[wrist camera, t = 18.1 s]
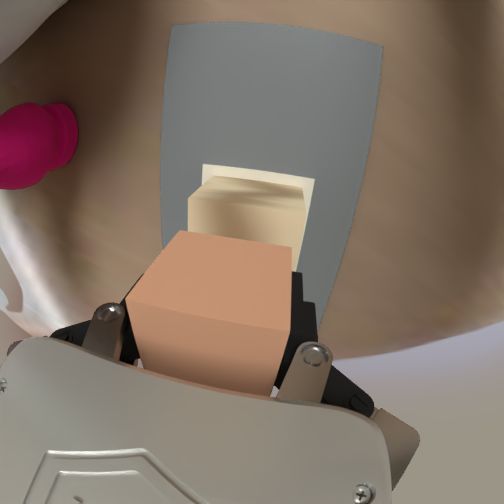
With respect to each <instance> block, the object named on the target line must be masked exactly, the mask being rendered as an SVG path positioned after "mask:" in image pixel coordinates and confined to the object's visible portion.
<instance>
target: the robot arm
mask: <svg viewBox="0 0 504 504" xmlns="http://www.w3.org/2000/svg"><path fill="white" fill-rule="evenodd" d="M143 275H144V274H142V275H141V277H142V276H143ZM141 277H140V278H141ZM140 278H139V279H138V280H137V282H138V281H139V280H140ZM137 282H136V283H135V284H134V286H135V285H136V284H137ZM134 286H133V287H132V288H131V289H130V291H129V292H128V293H127V295H126V296H125V297H124V299H123V300H122V301H121V303H120V304H118V303H113V302H112V303H105V304H103V305H101V306H99V307H98V308H97V309H96V311H95V312H94V315H93V317H92V320H88V321H85V322H82V323H78V324H75V325H72V326H68V327H65V328H62V329H59V330H56V331H55V332H54V333H52V335H51V336H50V337H47V336H43V337H30V338H27V339H25V340H22V341H17V342H14V343H13V344H12V345H10V347H9V349H8V352H7V357H6V358H5V360H4V361H3V363H2V364H1V365H0V504H392V491H393V490H394V488H395V487H396V485H397V483H398V482H399V480H400V479H401V477H402V475H403V474H404V472H405V470H406V468H407V467H408V465H409V463H410V461H411V459H412V458H413V456H414V454H415V452H416V450H417V448H418V446H419V443H420V436H419V434H418V432H417V431H416V430H415V429H414V428H413V427H411V426H409V425H408V424H406V423H404V422H403V421H401V420H399V419H398V418H396V417H395V416H393V415H391V414H390V413H388V412H387V411H385V410H383V409H382V408H381V409H380V410H378V409H377V408H375V407H374V402H373V400H372V398H371V397H370V396H369V395H368V394H367V393H365V392H364V391H363V390H362V389H360V388H359V387H358V386H357V385H355V384H354V383H353V382H352V381H351V380H349V379H348V378H347V377H346V376H345V375H343V374H342V373H341V372H340V371H338V370H337V369H336V368H335V367H334V366H332V365H331V364H332V360H333V356H332V353H331V351H330V350H329V348H328V347H326V346H325V345H323V344H321V343H319V342H318V335H317V321H316V308H315V303H314V302H307V301H303V276H302V273H301V272H294V271H292V276H291V321H290V334H289V337H288V340H287V344H286V347H285V351H284V354H283V357H282V360H281V364H280V367H279V370H278V373H277V376H276V380H275V383H274V386H276V387H277V388H278V389H279V392H278V394H277V396H276V398H274V397H268V396H261V395H254V394H248V393H242V392H236V391H231V390H226V389H221V388H216V387H211V386H207V385H202V384H198V383H193V382H189V381H185V380H181V379H177V378H174V377H170V376H166V375H163V374H159V373H156V372H152V371H149V370H146V369H142V368H139V367H137V365H138V359H139V358H140V355H139V351H138V348H137V344H136V341H135V337H134V333H133V329H132V325H131V321H130V317H129V313H128V309H127V305H126V300H125V298H126V297H127V296H128V294H129V293H130V292H131V290H132V289H133V288H134Z"/></svg>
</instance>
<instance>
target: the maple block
mask: <svg viewBox="0 0 504 504" xmlns="http://www.w3.org/2000/svg"><path fill="white" fill-rule="evenodd" d="M305 219H306V209H305V202H304V195H303V188H302V187H297V186H291V185H284V184H278V183H271V182H264V181H257V180H249V179H241V178H233V177H224V176H215V175H213V176H212V177H211V178H210V179H209V180H207V181H206V182H205V183H204V184H203V185H202V186H201V187H200V188H199V189H197V190H196V191H195V192H194V193H193V194H192V195H191V196H190V197H189V198H188V231H189V232H196V233H203V234H209V235H216V236H223V237H229V238H236V239H242V240H249V241H255V242H262V243H268V244H275V245H281V246H287V247H292V271H295V267H296V262H297V257H298V253H299V248H300V243H301V238H302V234H303V229H304V224H305Z"/></svg>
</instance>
